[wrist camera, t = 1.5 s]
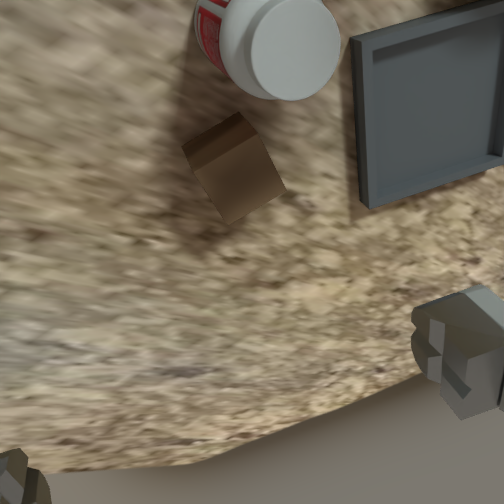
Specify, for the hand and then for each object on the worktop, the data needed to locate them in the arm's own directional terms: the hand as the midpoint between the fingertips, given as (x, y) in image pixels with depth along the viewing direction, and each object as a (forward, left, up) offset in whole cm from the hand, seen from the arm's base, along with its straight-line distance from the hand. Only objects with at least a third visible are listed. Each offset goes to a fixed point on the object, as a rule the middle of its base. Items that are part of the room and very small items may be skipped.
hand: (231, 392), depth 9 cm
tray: (+8, +23, -27) cm, 37 cm away
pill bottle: (-2, +8, -27) cm, 29 cm away
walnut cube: (+7, +5, -27) cm, 29 cm away
